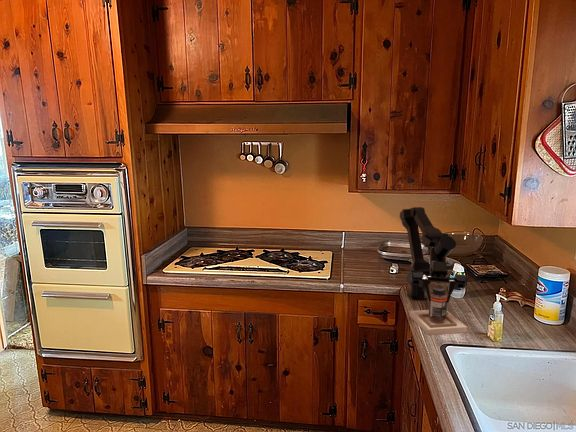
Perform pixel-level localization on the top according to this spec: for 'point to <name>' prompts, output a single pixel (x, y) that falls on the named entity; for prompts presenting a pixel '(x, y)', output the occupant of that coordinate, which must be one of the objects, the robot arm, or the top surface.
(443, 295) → the supplement bottle
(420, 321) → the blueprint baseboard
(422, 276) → the robot arm
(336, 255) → the top surface
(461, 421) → the top surface
